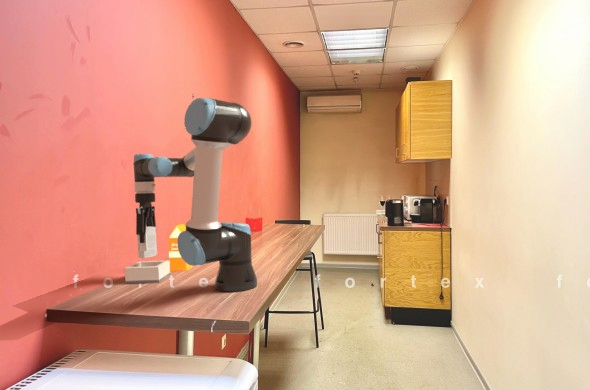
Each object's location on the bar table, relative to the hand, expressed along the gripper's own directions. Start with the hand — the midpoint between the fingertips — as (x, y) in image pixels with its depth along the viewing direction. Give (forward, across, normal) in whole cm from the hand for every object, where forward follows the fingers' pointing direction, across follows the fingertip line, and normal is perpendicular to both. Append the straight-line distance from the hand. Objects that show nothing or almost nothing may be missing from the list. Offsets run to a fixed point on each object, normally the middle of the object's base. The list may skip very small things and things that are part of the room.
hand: (147, 249), depth 156 cm
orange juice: (+12, +18, -8) cm, 23 cm away
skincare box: (+3, 0, 0) cm, 3 cm away
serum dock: (+12, 0, 0) cm, 12 cm away
